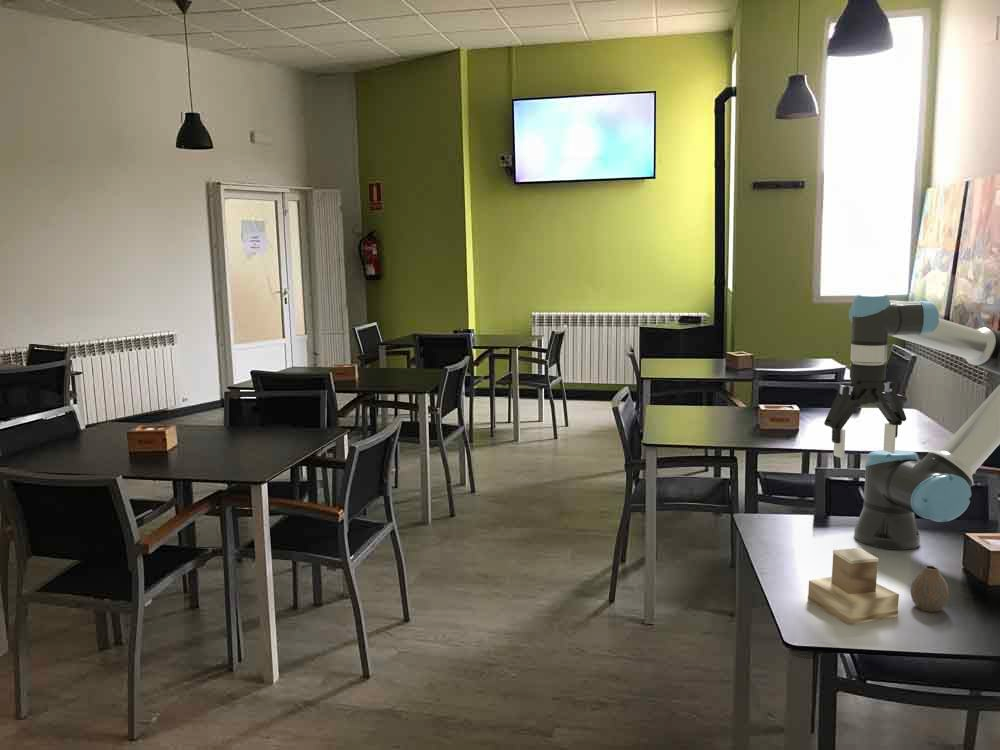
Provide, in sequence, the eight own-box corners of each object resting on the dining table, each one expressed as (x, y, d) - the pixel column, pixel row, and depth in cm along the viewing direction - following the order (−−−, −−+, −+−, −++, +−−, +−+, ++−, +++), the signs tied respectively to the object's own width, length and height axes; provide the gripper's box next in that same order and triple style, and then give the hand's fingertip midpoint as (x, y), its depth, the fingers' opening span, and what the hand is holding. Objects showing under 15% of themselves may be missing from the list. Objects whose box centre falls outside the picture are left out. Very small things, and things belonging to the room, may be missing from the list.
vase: (927, 617, 167) (930, 575, 166) (901, 603, 173) (904, 563, 172) (955, 613, 169) (958, 571, 168) (928, 599, 175) (931, 559, 174)
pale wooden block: (857, 580, 174) (859, 547, 173) (876, 591, 168) (878, 558, 167) (831, 582, 173) (833, 550, 172) (848, 594, 167) (850, 560, 166)
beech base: (853, 595, 179) (854, 572, 178) (897, 618, 167) (899, 594, 167) (807, 603, 175) (808, 580, 174) (849, 627, 163) (850, 603, 163)
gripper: (902, 357, 195) (897, 446, 198) (810, 363, 189) (807, 455, 192) (926, 361, 188) (921, 453, 191) (831, 368, 182) (828, 462, 185)
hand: (864, 454), depth 192 cm, fingers open, 13 cm apart
